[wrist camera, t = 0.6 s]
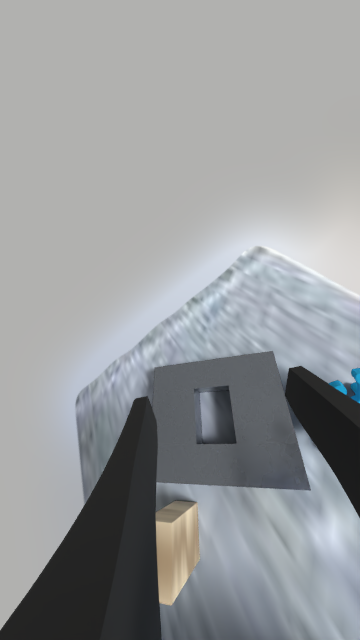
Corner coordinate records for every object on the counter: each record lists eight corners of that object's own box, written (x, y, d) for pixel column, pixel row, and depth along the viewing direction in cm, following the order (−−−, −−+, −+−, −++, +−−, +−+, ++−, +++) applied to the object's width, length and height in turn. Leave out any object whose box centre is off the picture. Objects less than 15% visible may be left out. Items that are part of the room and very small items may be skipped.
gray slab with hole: (306, 485, 19) (310, 490, 17) (158, 478, 24) (148, 481, 22) (272, 357, 26) (272, 350, 24) (162, 372, 31) (154, 367, 29)
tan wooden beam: (199, 559, 20) (171, 605, 14) (175, 555, 20) (139, 597, 15) (197, 502, 22) (171, 522, 16) (175, 500, 23) (143, 519, 17)
